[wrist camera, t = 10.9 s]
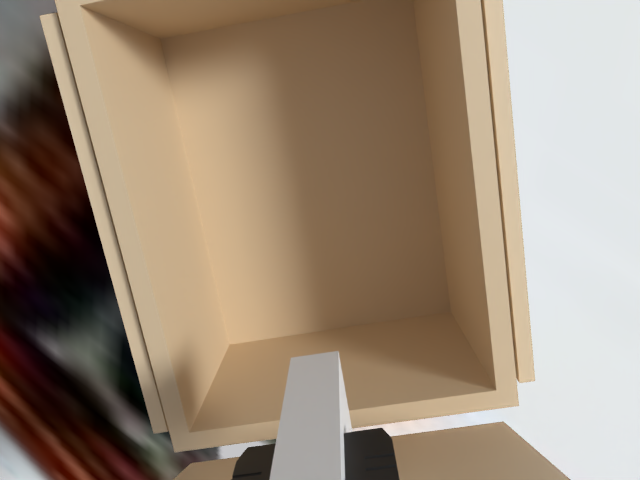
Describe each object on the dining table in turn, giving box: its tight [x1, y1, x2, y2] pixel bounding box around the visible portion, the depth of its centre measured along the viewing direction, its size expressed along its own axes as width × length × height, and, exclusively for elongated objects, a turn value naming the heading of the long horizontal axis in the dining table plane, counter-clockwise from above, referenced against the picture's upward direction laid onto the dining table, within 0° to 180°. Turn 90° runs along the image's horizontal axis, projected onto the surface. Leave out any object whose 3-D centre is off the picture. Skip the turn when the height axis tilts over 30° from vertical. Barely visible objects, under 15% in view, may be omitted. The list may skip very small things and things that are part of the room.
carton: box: [40, 0, 535, 452], centre depth 24 cm, size 18×16×9 cm
